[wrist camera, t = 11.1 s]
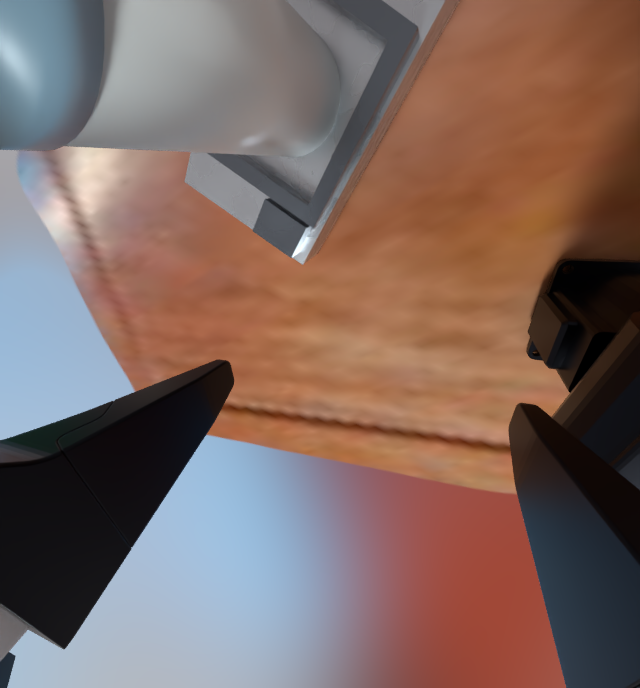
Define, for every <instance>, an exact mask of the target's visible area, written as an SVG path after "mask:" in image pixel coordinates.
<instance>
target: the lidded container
mask: <svg viewBox="0 0 640 688" xmlns="http://www.w3.org/2000/svg"><path fill="white" fill-rule="evenodd" d="M339 104H340V78H339V73H338V68H337V65H336V62H335V59H334V57H333V55H332V53H331V51H330V49H329V47H328V46H327V44H326V43H325V42H324V41H323V39H322V38H321V37H320V36H319V35H318V34H317V33H316V32H315V31H314V30H313V29H312V27H311V26H310V25H309V24H308V23H307V22H306V21H305V20H304V19H303V18H302V17H301V16H300V15H299V14H298V12H297V11H296V10H295V9H294V8H293V7H292V6H291V5H290V4H289V3H288V2H287V1H286V0H0V150H27V151H48V150H55V149H58V148H60V147H63V146H73V147H94V148H115V149H136V150H157V151H178V152H199V153H220V154H241V155H262V156H283V157H299V156H303V155H306V154H308V153H311V152H312V151H314V150H315V149H316V148H318V147H319V146H320V145H321V144H322V143H323V142H324V141H325V139H326V138H327V136H328V135H329V133H330V132H331V130H332V128H333V126H334V123H335V120H336V117H337V114H338V110H339Z"/></svg>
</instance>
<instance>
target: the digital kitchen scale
mask: <svg viewBox="0 0 640 688" xmlns="http://www.w3.org/2000/svg"><path fill="white" fill-rule="evenodd" d="M286 1H287V2H288V3H289V4H290V5H291V6H292V7H293V8H294V9H295V10H296V11H297V12H298V14H299V15H300V16H301V17H302V18H303V19H304V20H305V21H306V22H307V23H308V24H309V25H310V26H311V27H312V29H313V30H314V31H315V32H316V33H317V34H318V35H319V36H320V37H321V38H322V39H323V41H324V42H325V43H326V44H327V46H328V47H329V49H330V51H331V53H332V55H333V57H334V59H335V62H336V65H337V68H338V73H339V78H340V104H339V110H338V114H337V117H336V120H335V123H334V126H333V128H332V130H331V132H330V133H329V135H328V136H327V138H326V139H325V141H324V142H323V143H322V144H321V145H320V146H319V147H318V148H316V149H315V150H314V151H312V152H311V153H308V154H306V155H303V156H299V157H283V156H262V155H241V154H220V153H199V152H191V154H190V159H189V164H188V168H187V173H186V178H185V182H186V183H187V184H189V185H190V186H191V187H193V188H194V189H196V190H197V191H199V192H200V193H201V194H203V195H204V196H206V197H207V198H208V199H210V200H211V201H213V202H214V203H216V204H217V205H218V206H220V207H221V208H223V209H224V210H226V211H227V212H228V213H230V214H231V215H233V216H234V217H236V218H237V219H238V220H240V221H241V222H243V223H244V224H245V225H247V226H248V227H250V228H251V229H253V232H255V233H256V234H258V235H259V236H261V237H262V238H263V239H265V240H266V241H268V242H269V243H271V244H272V245H273V246H275V247H276V248H278V249H279V250H281V251H282V252H283V253H285V254H286V255H288V256H289V257H290V258H294V259H295V260H297V261H298V262H300V263H301V264H302V265H303V264H304V263H306V262H307V261H308V260H310V259H311V258H312V257H314V256H315V255H316V254H318V253H319V251H320V249H321V247H322V246H323V244H324V242H325V240H326V238H327V237H328V235H329V233H330V231H331V230H332V228H333V226H334V224H335V222H336V221H337V219H338V217H339V215H340V214H341V212H342V210H343V208H344V206H345V205H346V203H347V201H348V199H349V197H350V196H351V194H352V192H353V190H354V189H355V187H356V185H357V183H358V181H359V180H360V178H361V176H362V174H363V173H364V171H365V169H366V167H367V165H368V164H369V162H370V160H371V158H372V157H373V155H374V153H375V151H376V149H377V148H378V146H379V144H380V142H381V141H382V139H383V137H384V135H385V133H386V132H387V130H388V128H389V126H390V124H391V123H392V121H393V119H394V117H395V116H396V114H397V112H398V110H399V108H400V107H401V105H402V103H403V101H404V100H405V98H406V96H407V94H408V92H409V91H410V89H411V87H412V85H413V84H414V82H415V80H416V78H417V76H418V75H419V73H420V71H421V69H422V67H423V66H424V64H425V62H426V60H427V59H428V57H429V55H430V53H431V51H432V50H433V48H434V46H435V44H436V43H437V41H438V39H439V37H440V35H441V34H442V32H443V30H444V28H445V27H446V25H447V23H448V21H449V19H450V18H451V16H452V14H453V12H454V11H455V9H456V7H457V5H458V3H459V2H460V0H286Z"/></svg>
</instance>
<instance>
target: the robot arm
mask: <svg viewBox="0 0 640 688" xmlns="http://www.w3.org/2000/svg"><path fill="white" fill-rule="evenodd" d="M566 265H571V268H570V270H568V271H566V272H563V268H564V267H565V266H566ZM528 333H529V335H530V337H531V338H530V341H529V344H528V347H527V351H526V352H527V354H528V356H529V357H530V358H531V359H535V360H543V361H544V363H545V365H546V366H547V367H548V368H550V369H556V370H557V372H558V374H559V375H560V377H561V379H562V381H563V382H564V384H565V386H566V388H567V389H568V391H569V392H570V394H569V395H568V397H567V398H566V399H565V400H564V402H563V403H562V404H561V406H560V407H559V408H558V409H557V411H556V412H555V413H554V415H553V416H552V417H550V416H549V415H548V414H547V413H546V412H544V411H543V410H542V409H541V408H539V407H538V406H536V405H533V404H526V403H519V404H518V405H517V406H516V408H515V411H514V413H513V416H512V419H511V422H510V424H509V440H510V448H511V456H512V465H513V473H514V480H515V486H516V491H517V495H518V499H519V503H520V507H521V511H522V515H523V518H524V523H525V526H526V531H527V534H528V538H529V542H530V546H531V550H532V554H533V558H534V562H535V566H536V570H537V574H538V578H539V582H540V586H541V590H542V593H543V597H544V601H545V605H546V609H547V613H548V617H549V621H550V625H551V629H552V633H553V637H554V641H555V645H556V649H557V653H558V657H559V660H560V664H561V668H562V672H563V676H564V680H565V684H566V688H640V261H637V260H602V259H564V260H561V261H560V262H559V263H557V265H556V267H555V269H554V272H553V275H552V278H551V281H550V283H549V286H548V289H547V292H546V293H544V294H542V295H541V296H540V297H539V300H538V303H537V306H536V309H535V312H534V315H533V318H532V320H531V323H530V326H529V329H528ZM535 350H538V353H532V352H533V351H535ZM233 385H234V377H233V373H232V368H231V365H230V363H229V362H228V361H226V360H215V361H212V362H210V363H207V364H205V365H202V366H200V367H197V368H195V369H192V370H190V371H187V372H185V373H182V374H180V375H177V376H174V377H172V378H169V379H167V380H164V381H162V382H159V383H157V384H154V385H152V386H149V387H147V388H144V389H142V390H139V391H136V392H134V393H131V394H129V395H126V396H124V397H121V398H119V399H116V400H115V401H111V402H108V403H106V404H103V405H101V406H98V407H96V408H93V409H91V410H88V411H85V412H83V413H80V414H77V415H74V416H71V417H69V418H66V419H63V420H60V421H57V422H55V423H51V424H49V425H46V426H43V427H40V428H37V429H34V430H31V431H29V432H26V433H22V434H19V435H16V436H14V437H10V438H7V439H4V440H0V688H7V686H8V682H9V679H10V675H11V671H12V667H13V664H14V660H15V655H13V654H11V653H10V652H9V651H10V650H11V649H12V647H13V646H14V645H15V644H16V643H17V642H18V640H19V639H20V638H21V637H22V636H23V634H24V633H25V632H26V631H27V630H30V631H32V632H34V633H35V634H37V635H39V636H41V637H43V638H44V639H46V640H48V641H50V642H51V643H53V644H55V645H57V646H58V647H60V648H62V649H65V648H66V647H67V646H68V644H69V643H70V642H71V640H72V639H73V637H74V636H75V634H76V633H77V631H78V630H79V628H80V627H81V625H82V624H83V622H84V621H85V619H86V618H87V616H88V615H89V613H90V611H91V610H92V608H93V607H94V605H95V604H96V602H97V601H98V599H99V598H100V596H101V595H102V593H103V592H104V590H105V589H106V587H107V585H108V584H109V582H110V581H111V579H112V578H113V576H114V575H115V573H116V572H117V570H118V569H119V567H120V565H121V564H122V563H123V561H124V559H125V558H126V556H127V555H128V553H129V552H130V550H131V547H133V545H134V544H135V542H136V541H137V539H138V538H139V536H140V535H141V533H142V532H143V530H144V529H145V527H146V526H147V524H148V523H149V521H150V520H151V518H152V517H153V515H154V513H155V512H156V510H157V509H158V507H159V506H160V504H161V503H162V501H163V500H164V498H165V497H166V495H167V494H168V492H169V490H170V489H171V487H172V486H173V484H174V483H175V481H176V480H177V478H178V477H179V475H180V474H181V472H182V471H183V469H184V468H185V466H186V465H187V463H188V462H189V460H190V459H191V457H192V455H193V454H194V452H195V451H196V449H197V448H198V446H199V445H200V443H201V441H202V440H203V439H204V437H205V436H206V434H207V433H208V431H209V430H210V428H211V426H212V425H213V423H214V422H215V420H216V418H217V416H218V414H219V413H220V411H221V409H222V407H223V405H224V403H225V401H226V399H227V397H228V395H229V393H230V391H231V389H232V387H233Z"/></svg>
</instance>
